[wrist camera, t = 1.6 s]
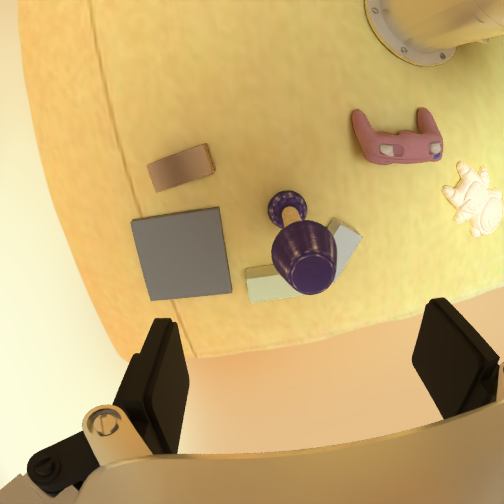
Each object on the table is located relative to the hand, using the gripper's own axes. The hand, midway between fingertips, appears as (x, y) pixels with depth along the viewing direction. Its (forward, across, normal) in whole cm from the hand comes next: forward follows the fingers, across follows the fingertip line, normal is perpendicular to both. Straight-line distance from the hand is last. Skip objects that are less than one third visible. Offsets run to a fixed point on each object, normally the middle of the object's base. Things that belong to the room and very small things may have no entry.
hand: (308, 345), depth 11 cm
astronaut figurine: (+25, -28, 0) cm, 38 cm away
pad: (+25, +10, +6) cm, 27 cm away
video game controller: (+25, -14, -7) cm, 30 cm away
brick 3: (+25, -7, +6) cm, 27 cm away
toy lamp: (+25, -2, +1) cm, 25 cm away
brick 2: (+25, 0, +9) cm, 27 cm away
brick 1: (+25, +8, -4) cm, 27 cm away
